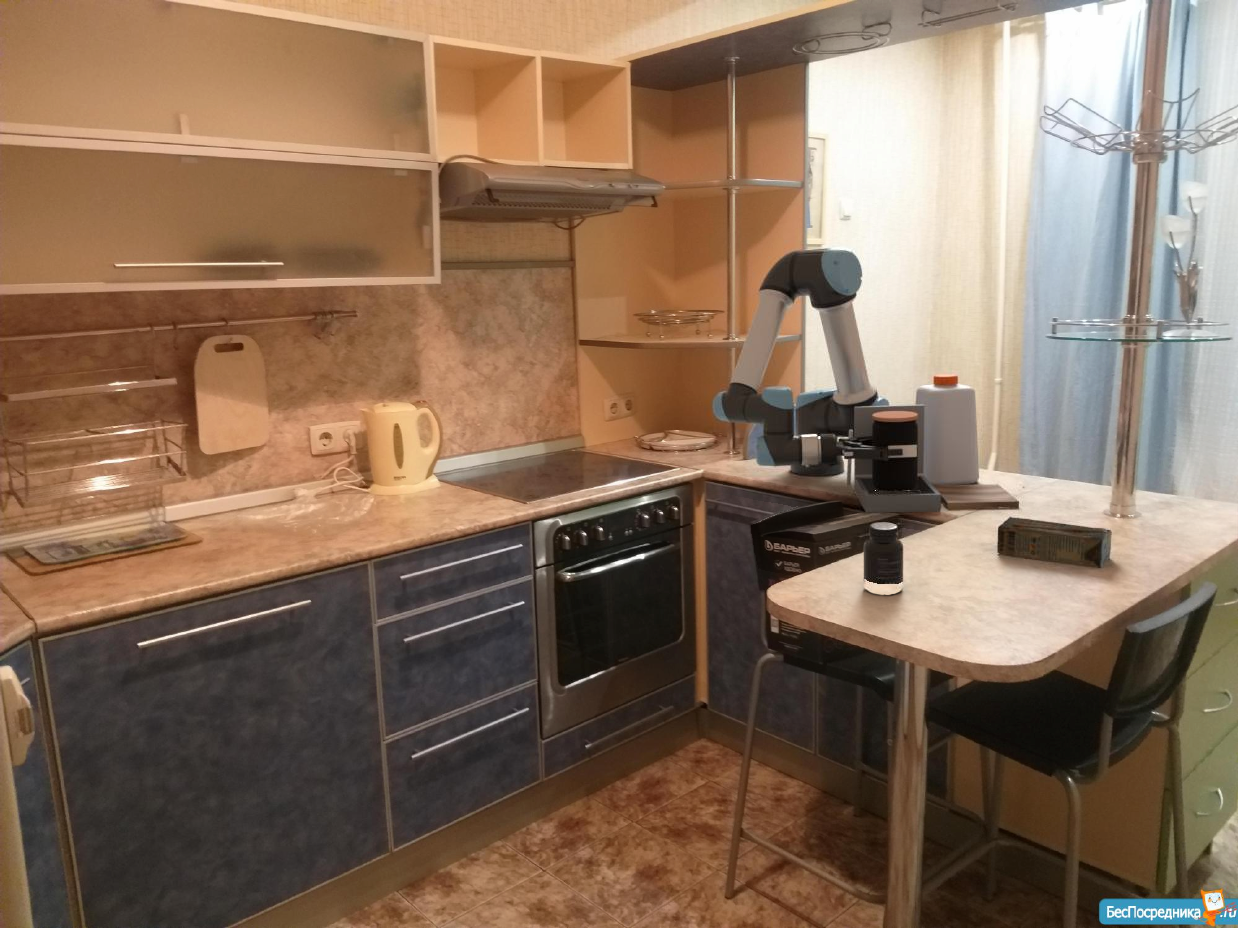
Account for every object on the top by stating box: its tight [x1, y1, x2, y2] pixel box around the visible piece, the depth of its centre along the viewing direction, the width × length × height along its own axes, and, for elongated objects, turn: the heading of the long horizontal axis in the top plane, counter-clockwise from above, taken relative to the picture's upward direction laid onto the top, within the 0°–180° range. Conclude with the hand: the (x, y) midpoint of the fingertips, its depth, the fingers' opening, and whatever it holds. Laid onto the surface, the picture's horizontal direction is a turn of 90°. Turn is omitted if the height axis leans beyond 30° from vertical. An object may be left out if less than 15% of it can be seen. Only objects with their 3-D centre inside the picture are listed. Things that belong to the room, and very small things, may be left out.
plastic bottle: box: [914, 373, 980, 486], centre depth 246 cm, size 15×15×28 cm
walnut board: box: [934, 483, 1020, 510], centre depth 227 cm, size 18×16×2 cm
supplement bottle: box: [863, 521, 904, 584], centre depth 166 cm, size 7×7×12 cm
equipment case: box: [846, 404, 942, 513], centre depth 230 cm, size 28×18×22 cm
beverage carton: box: [996, 516, 1113, 569], centre depth 180 cm, size 8×19×7 cm, turn 52°
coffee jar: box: [872, 411, 918, 493], centre depth 227 cm, size 11×11×18 cm
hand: (912, 446), depth 226 cm, fingers closed on coffee jar, 11 cm apart
